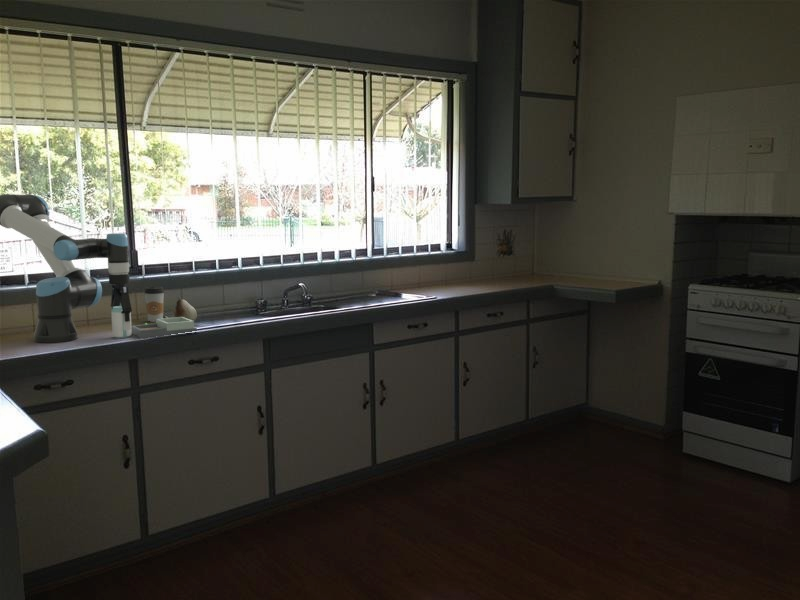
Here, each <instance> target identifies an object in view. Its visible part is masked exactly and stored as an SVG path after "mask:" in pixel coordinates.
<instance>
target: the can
mask: <svg viewBox="0 0 800 600" xmlns="http://www.w3.org/2000/svg"><path fill="white" fill-rule="evenodd" d="M122 311H123V310H122V306H121V305H120V306H115V307H113V309H112V308H111V311H110V315H111V317H110V318H111V336H112V337H113V338H115V339H126V338H130V337H131V336H132V335H133V334H132V331H131V330H123V318H122V314H121V312H122ZM131 313H132V312H130V321H131V322H132V314H131Z"/></svg>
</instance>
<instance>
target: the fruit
mask: <svg viewBox="0 0 800 600" xmlns="http://www.w3.org/2000/svg"><path fill="white" fill-rule="evenodd" d="M197 314H198V313H197V310H196V309H195V308H194V306H192V305H191V304H190V303H189V302H188V301H187V300H185V299H183V298H182V299H181V297H178V300H177V301H176V304H175V307H174V309H173V318H176V317H184V318H187V319H190V320H193V321H194V322H195V321H196V319H197V317H198V315H197Z"/></svg>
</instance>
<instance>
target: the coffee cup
mask: <svg viewBox="0 0 800 600" xmlns="http://www.w3.org/2000/svg"><path fill="white" fill-rule="evenodd" d="M164 290H165V289H164V288H163V286H149V287H148V286H147V287H145V289H144V296H145V297H144V298H145V306H146V313H147V314H146V317H147V321H148V322H149V321H150V322H149V323H156V319H164V308H165V307H164V297H165V296H164V294H165V291H164Z"/></svg>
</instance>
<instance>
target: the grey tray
mask: <svg viewBox="0 0 800 600" xmlns="http://www.w3.org/2000/svg"><path fill="white" fill-rule="evenodd" d="M131 331H132V335H133V336H135V337H138V338H139V337H140V339H141V338H144V339H149V338H148V337H154V338H157V337H156V336H163V337H165V336H164V335H171V334H178V333H185V332H192V331H197V332H198V328H197V327H195V321H193V320H190V319H187V318H184V317H176V318H174V317H166V318H164V317H163V319H156V322H155V323H147V322H145V323H143V324H138V325H131Z"/></svg>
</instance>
